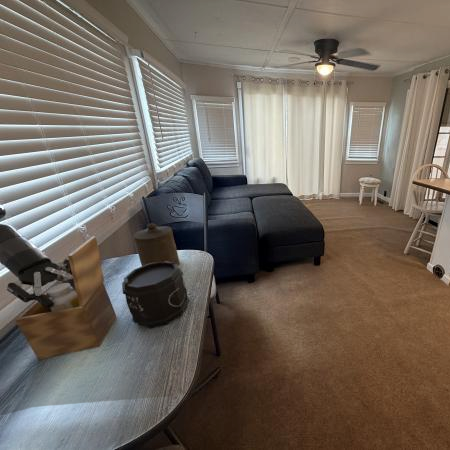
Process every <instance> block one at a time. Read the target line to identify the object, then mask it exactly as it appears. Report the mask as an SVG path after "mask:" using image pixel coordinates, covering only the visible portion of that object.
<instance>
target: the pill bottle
mask: <svg viewBox="0 0 450 450" xmlns="http://www.w3.org/2000/svg"><path fill="white" fill-rule="evenodd" d="M46 292H48V295H49V296H51V297H50V298H49V299H50V300H51V301H52V302H53V303H54V305H53V307H51V308H50V309H51V310H52V312H54V311H59V310H65V309H70V308H76V307H80V305H79V301H78V297H77V292H76V290H74V289H71V286H70V284H69V283H68V282H62V283H58V284H55V285H52V286H51V287H50V288H48V289H47V290H46Z"/></svg>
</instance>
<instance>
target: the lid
mask: <svg viewBox="0 0 450 450" xmlns="http://www.w3.org/2000/svg"><path fill="white" fill-rule="evenodd" d="M67 259H69V263H70V267H71V271H72V275H73V280H74V284H75V288H76V292H77V297H78V301H79V305H80V307H81V306H84V305H85V304H86V302H87V301H88V300H89V299H90V298H91V296H92V295H93V294H94V293H95V291H96V290H97V289H98V288H99V286H100V285H101V284H102V283H104V282H105V278H104V272H103V267H102V262H101V261H102V260H101V257H100V250H99V246H98V241H97V236H96V235H92V236H91V237H90V238H89V239H87V240H86V241H85V242H83V243H82V244H81V245H79V246H78V247H77V248H76V249H74V250H73V251H72V252H70V254H68V255H67Z"/></svg>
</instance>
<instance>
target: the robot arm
mask: <svg viewBox="0 0 450 450" xmlns="http://www.w3.org/2000/svg"><path fill="white" fill-rule="evenodd" d="M6 215H7V210H6V208H5V207H4V206H3V205H2V204H1V203H0V220H3V218H5V217H6ZM0 264H1V265H2V266H3V267H5V268H6V269H7V270H8V271H9V272H11V273H12V274H13V275H14V276H15V277H16V278H17V279H18V280H17V281H14V282H9V283H7V287H6V291H8V292H9V293H10V294H12V295H13V296H15V297H16V298H17V299H19V300H20V301H22V302H23V303H29V302H31V301H38V302H39V303H40V304H41V305H42V306H44V307H49V308H51V307H53V305H54V303H53V302H52V301H51V300H50V299H49V298H48V297H47V296H46V295H45V293H43V291H42V287H45V286H46V285H48V284H49V283H53V282H55V281H58V282H63V283H69V284H70V286H71V287H72V288H73V289H75V290H76V288H75V284H74V280H73V275H72V271H71V267H70V263H69V258H66V259H64V262H61V263H57V262H53V261H52V260H51V259H50V257H48V256H47V255H46V254H45V253H44V252H43V251H42V250H40V248H39V247H37V246H36V245H35V244H34V243H33V242H31V240H29V239H27V238H26V237H25V236H23V234H22V233H20V231H18V230H17V229H16V228H15V227H13V226H12V225H10V224H7V223H0ZM59 267H61V268H63V269H66V270H67V271H68V272H69V273H67V272H65V271H62V270H61V271H59ZM23 285H25V286H30V287H32V293H29V291H26V290H25V289H24V288H23Z"/></svg>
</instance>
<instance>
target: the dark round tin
mask: <svg viewBox="0 0 450 450" xmlns="http://www.w3.org/2000/svg"><path fill="white" fill-rule="evenodd" d="M183 275H184V273H183V270H182V268H181V267H180V265H176V264H175V263H173V262H167V261H165V262H163V261H161V262H155V263H149V264H146V265H144V266H142V265H141V266H139V267H137V268H134V269H133V270H132V271H130V272H129V273H128V274H127V275H125V276H124V278H123V281H122V282H121V286H122V294H123V295H125V301H126V304H127V308H128V311H129V312H130V315H131V316H132V322H133V323H134V324H137V325H138V326H140V327H144V328H148V329H153V328H157V327H162V326H167V325H168V324H170V323H172V322H173V321H176V320H177V319H178V318H180V317H181V316H182V315H183V314H184V312H185V310H186V309H187V308H188V304H190V297H189V296H188V291H187V286H186V283H185V280H184V278H183Z"/></svg>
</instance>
